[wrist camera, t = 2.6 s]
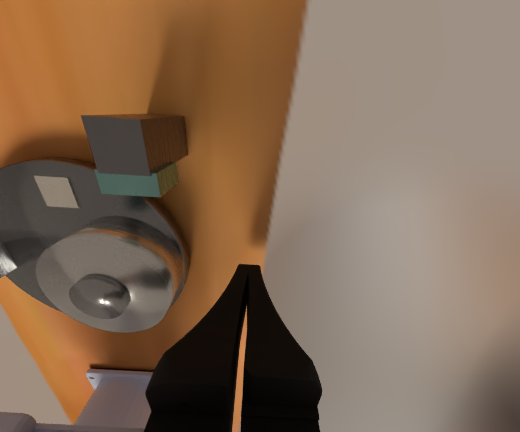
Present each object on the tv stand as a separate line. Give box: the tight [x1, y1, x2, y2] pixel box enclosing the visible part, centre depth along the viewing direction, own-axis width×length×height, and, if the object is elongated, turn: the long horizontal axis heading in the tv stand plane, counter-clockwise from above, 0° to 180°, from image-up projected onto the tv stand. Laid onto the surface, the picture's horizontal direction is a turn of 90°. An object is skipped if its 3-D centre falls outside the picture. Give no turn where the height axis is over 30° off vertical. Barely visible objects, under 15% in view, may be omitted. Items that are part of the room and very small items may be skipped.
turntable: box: [0, 158, 189, 312], centre depth 13 cm, size 13×14×4 cm
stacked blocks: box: [81, 114, 188, 197], centre depth 10 cm, size 3×2×4 cm
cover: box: [36, 216, 184, 333], centre depth 12 cm, size 7×7×3 cm
